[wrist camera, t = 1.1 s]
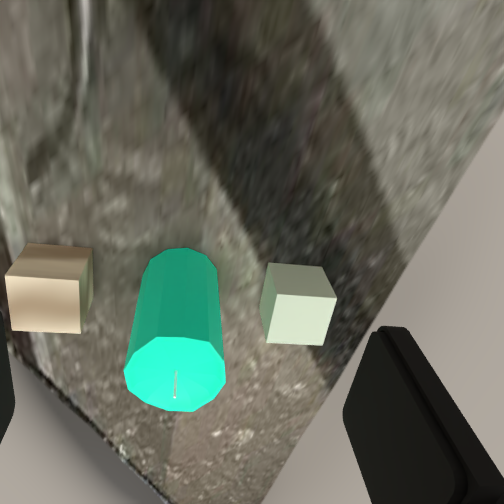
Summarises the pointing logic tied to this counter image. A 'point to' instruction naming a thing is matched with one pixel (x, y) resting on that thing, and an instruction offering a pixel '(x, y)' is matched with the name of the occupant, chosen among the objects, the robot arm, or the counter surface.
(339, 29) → the counter surface
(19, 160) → the counter surface
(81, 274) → the birch block
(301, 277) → the sage block
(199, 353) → the candle
